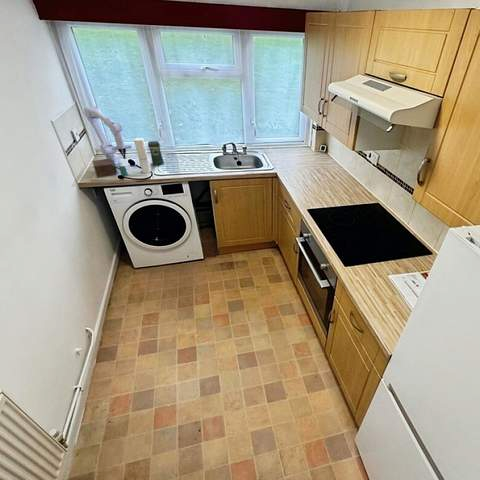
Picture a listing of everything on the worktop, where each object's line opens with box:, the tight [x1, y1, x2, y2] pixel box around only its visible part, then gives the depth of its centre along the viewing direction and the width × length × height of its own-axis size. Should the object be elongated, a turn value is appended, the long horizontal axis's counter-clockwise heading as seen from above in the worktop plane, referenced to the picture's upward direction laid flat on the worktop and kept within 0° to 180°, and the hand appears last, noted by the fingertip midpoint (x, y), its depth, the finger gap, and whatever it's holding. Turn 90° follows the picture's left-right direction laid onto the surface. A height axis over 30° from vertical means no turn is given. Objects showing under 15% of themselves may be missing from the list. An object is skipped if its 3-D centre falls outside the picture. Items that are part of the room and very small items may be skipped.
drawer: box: [112, 160, 122, 174], centre depth 239 cm, size 17×13×7 cm
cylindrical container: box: [133, 137, 152, 174], centre depth 237 cm, size 7×7×25 cm
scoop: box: [112, 164, 128, 177], centre depth 234 cm, size 9×5×10 cm, turn 119°
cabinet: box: [92, 158, 117, 178], centre depth 237 cm, size 14×15×9 cm
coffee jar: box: [147, 140, 165, 166], centre depth 254 cm, size 10×8×19 cm
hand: (124, 158), depth 240 cm, fingers closed
